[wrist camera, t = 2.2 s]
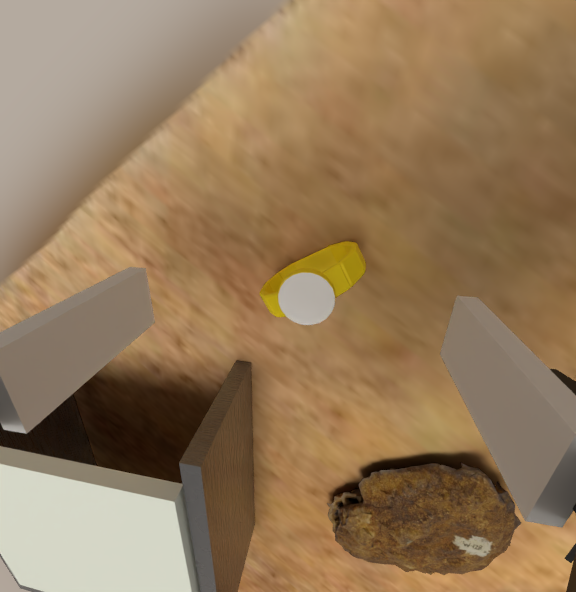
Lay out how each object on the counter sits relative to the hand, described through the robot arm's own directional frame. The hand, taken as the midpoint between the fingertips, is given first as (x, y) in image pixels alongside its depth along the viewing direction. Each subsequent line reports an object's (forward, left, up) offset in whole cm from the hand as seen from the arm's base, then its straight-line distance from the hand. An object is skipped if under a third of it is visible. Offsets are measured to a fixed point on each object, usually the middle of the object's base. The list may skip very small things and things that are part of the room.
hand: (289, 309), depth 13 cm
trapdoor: (+14, +19, +2) cm, 24 cm away
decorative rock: (-10, +21, -8) cm, 25 cm away
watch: (0, 0, -8) cm, 8 cm away
